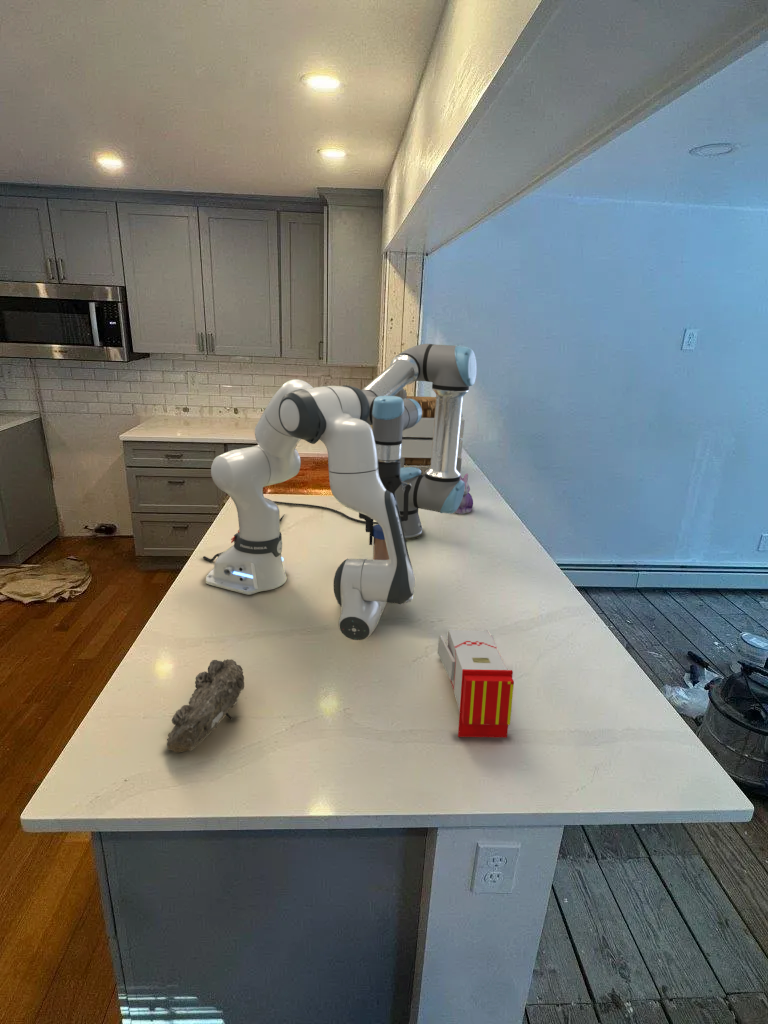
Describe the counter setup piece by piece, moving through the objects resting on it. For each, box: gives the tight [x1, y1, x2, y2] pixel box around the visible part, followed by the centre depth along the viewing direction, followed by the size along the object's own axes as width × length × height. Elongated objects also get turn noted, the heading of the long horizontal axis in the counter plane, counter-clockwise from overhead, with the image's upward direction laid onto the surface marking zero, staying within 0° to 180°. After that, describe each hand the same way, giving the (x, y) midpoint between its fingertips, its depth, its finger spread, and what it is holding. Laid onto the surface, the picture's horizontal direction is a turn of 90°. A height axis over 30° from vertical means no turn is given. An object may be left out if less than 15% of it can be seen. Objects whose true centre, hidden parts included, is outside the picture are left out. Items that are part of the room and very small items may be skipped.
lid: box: [373, 524, 385, 540], centre depth 150 cm, size 6×6×2 cm
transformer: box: [395, 387, 465, 475], centre depth 268 cm, size 34×33×41 cm
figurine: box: [454, 473, 474, 515], centre depth 223 cm, size 9×10×15 cm
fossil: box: [166, 658, 245, 754], centre depth 106 cm, size 22×10×15 cm
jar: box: [372, 537, 389, 560], centre depth 153 cm, size 5×5×20 cm
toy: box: [437, 628, 515, 738], centre depth 117 cm, size 12×13×30 cm
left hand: (381, 573), depth 155 cm, fingers closed on jar, 4 cm apart
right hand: (382, 543), depth 151 cm, fingers closed on lid, 5 cm apart
